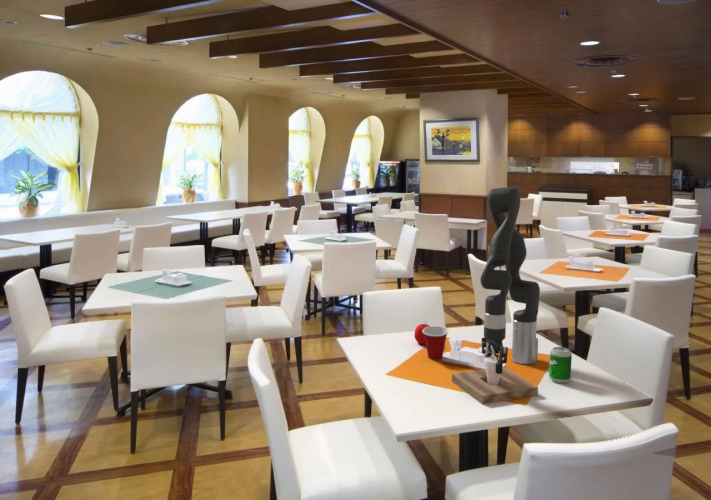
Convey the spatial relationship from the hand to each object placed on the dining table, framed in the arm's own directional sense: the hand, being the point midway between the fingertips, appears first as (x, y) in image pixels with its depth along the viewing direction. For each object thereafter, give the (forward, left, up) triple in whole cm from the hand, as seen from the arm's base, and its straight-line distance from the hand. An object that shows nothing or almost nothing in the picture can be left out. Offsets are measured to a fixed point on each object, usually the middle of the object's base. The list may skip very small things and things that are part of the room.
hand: (493, 370), depth 214 cm
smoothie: (0, 0, -6) cm, 6 cm away
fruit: (+1, -56, -7) cm, 56 cm away
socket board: (0, 0, -7) cm, 7 cm away
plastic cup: (+5, -37, -7) cm, 38 cm away
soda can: (-27, +2, -7) cm, 28 cm away
